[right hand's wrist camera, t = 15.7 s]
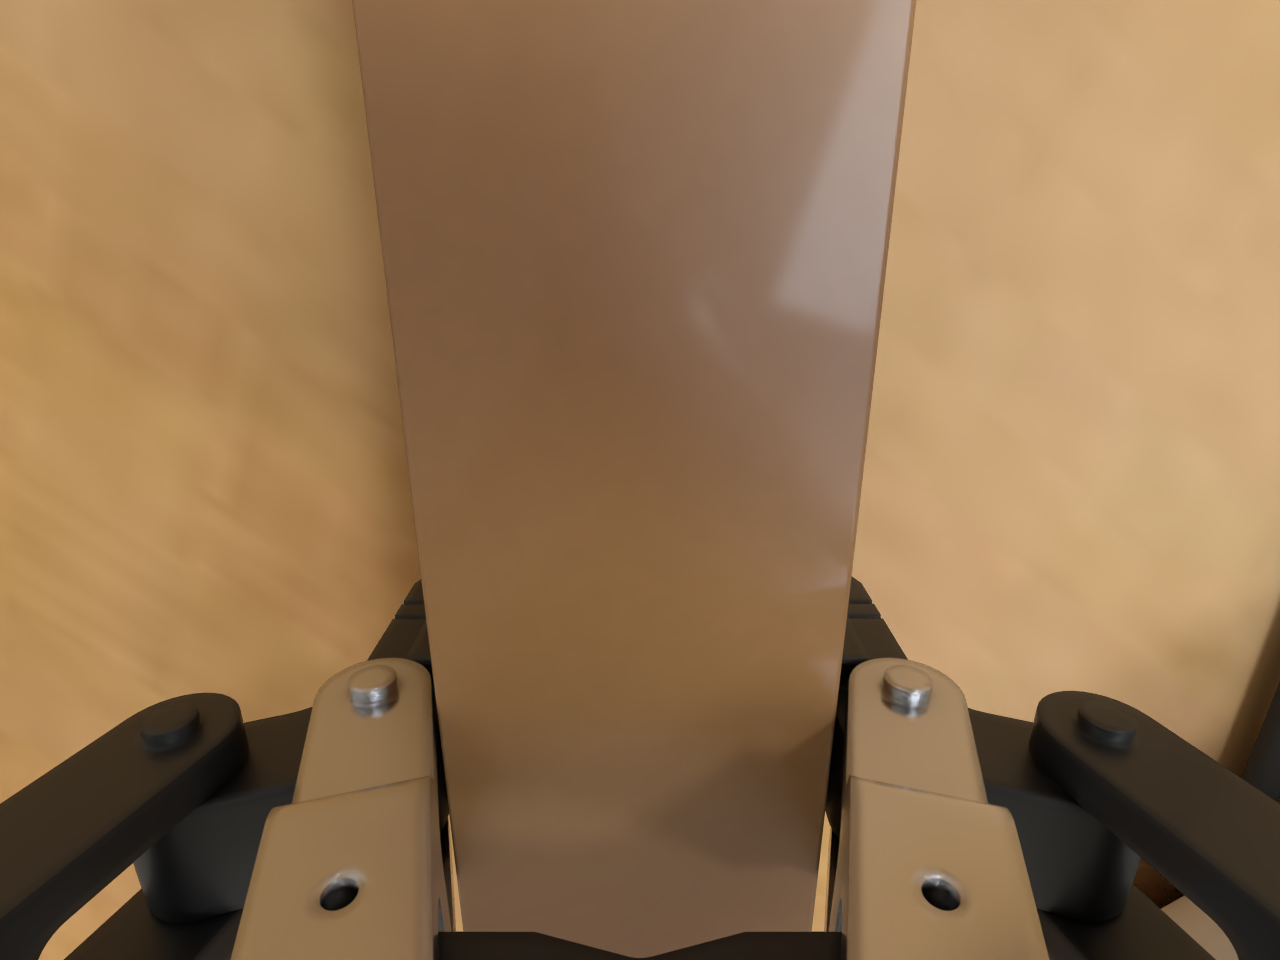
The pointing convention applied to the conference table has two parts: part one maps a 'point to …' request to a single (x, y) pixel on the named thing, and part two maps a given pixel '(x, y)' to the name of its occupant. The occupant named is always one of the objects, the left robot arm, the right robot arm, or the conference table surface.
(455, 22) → the post
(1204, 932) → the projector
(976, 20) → the conference table surface
